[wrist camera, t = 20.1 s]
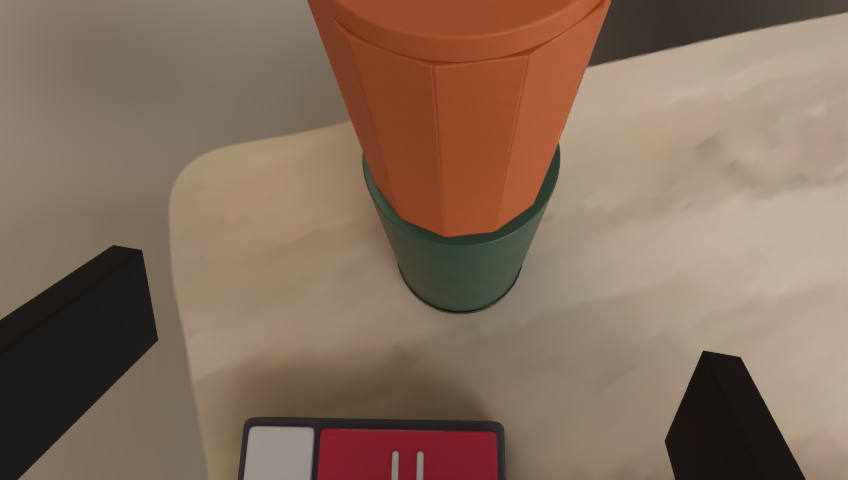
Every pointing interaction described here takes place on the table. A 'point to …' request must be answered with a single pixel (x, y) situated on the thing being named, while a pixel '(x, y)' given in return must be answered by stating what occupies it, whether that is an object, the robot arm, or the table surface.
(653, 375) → the table surface
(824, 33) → the table surface
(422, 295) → the flask
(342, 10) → the cap
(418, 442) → the red and grey box
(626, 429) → the table surface
